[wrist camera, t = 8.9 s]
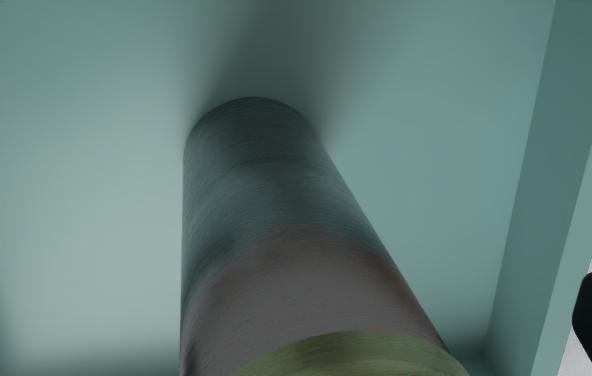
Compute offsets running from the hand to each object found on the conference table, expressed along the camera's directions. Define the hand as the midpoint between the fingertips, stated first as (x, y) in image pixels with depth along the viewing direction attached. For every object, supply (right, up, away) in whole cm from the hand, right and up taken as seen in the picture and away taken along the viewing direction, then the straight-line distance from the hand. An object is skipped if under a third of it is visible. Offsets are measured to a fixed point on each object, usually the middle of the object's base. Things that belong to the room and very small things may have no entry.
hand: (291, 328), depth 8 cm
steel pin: (-1, +3, +5) cm, 6 cm away
